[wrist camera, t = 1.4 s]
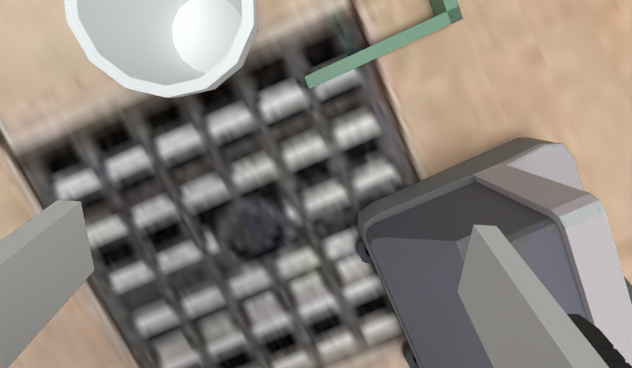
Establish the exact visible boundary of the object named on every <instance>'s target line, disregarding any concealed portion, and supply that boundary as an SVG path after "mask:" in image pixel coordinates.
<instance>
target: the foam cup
mask: <svg viewBox="0 0 632 368" xmlns="http://www.w3.org/2000/svg"><path fill="white" fill-rule="evenodd" d="M64 4H65V12H66V20H67V23H68V24H69V26H70V28H71V30H72V31H73V33H74V35H75V36H76V38H77V40H78V42H79V43H80V45H81V47H82V48H83V50H84V52H85V54H86V55H87V57H88V59H89V60H90V62H92V63H93V64H94V65H96V66H97V67H98V68H100V69H101V70H102V71H104V72H105V73H106V74H108V75H109V76H110V77H112V78H113V79H114V80H116V81H117V82H118V83H120V84H121V85H122V86H123V87H125V88H127V89H132V90H136V91H140V92H145V93H149V94H153V95H157V96H162V97H166V98H172V97H183V96H187V95H192V94H196V93H200V92H205V91H209V90H214V89H216V88H217V87H218V86H219V85H220V84H222V83H223V82H224V81H225V80H226V79H228V78H229V77H230V76H231V75H232V74H234V73H235V72H236V71H237V70H238V69H240V68H241V67H242V66H243V64H244V62H245V59H246V57H247V55H248V53H249V50H250V48H251V46H252V44H253V41H254V39H255V37H256V34H257V32H258V16H257V0H64Z"/></svg>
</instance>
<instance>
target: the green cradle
mask: <svg viewBox="0 0 632 368" xmlns="http://www.w3.org/2000/svg"><path fill="white" fill-rule="evenodd" d="M430 3H431V5H432V8H433V11H434V14H435V17H433V18H431V19H429V20H427V21H425V22H423V23H420V24H418V25H416V26H414V27H412V28H409V29H407V30H405V31H403V32H401V33H399V34H396V35H394V36H392V37H390V38H388V39H385V40H383V41H381V42H379V43H377V44H375V45H372V46H370V47H368V48H366V49H364V50H361V51H359V52H357V53H355V54H353V55H351V56H348V57H346V58H344V59H342V60H340V61H337V62H335V63H333V64H331V65H329V66H327V67H324V68H322V69H320V70H318V71H316V72H314V73H311V74H309V75H307V76H305V77H304V80H305V82H306V85H307V87H308V89H310V88H312V87H315V86H317V85H319V84H321V83H323V82H325V81H328V80H330V79H332V78H334V77H336V76H339V75H341V74H343V73H345V72H347V71H350V70H352V69H354V68H356V67H358V66H360V65H363V64H365V63H367V62H369V61H371V60H374V59H376V58H378V57H380V56H382V55H385V54H387V53H389V52H391V51H393V50H395V49H398V48H400V47H402V46H404V45H406V44H409V43H411V42H413V41H415V40H417V39H420V38H422V37H424V36H426V35H428V34H430V33H433V32H435V31H437V30H439V29H441V28H444V27H446V26H448V25H450V24H452V23H455V22H457V21H459V20H461V19H463V17H462V14H461V11H460V8H459V5H458V2H457V0H430Z"/></svg>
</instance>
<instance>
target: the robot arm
mask: <svg viewBox="0 0 632 368" xmlns="http://www.w3.org/2000/svg"><path fill="white" fill-rule="evenodd" d="M93 271H94V266H93V261H92V256H91V251H90V246H89V241H88V236H87V231H86V225H85V220H84V215H83V210H82V205H81V201H64V200H57V201H56V202H54V203H53V204H52V205H50V206H49V207H47V208H46V209H45V210H43V211H42V212H40V213H39V214H38V215H36V216H35V217H33V218H32V219H31V220H29V221H28V222H26V223H25V224H23V225H22V226H21V227H19V228H18V229H16V230H15V231H14V232H12V233H11V234H9V235H8V236H7V237H5V238H4V239H2V240H1V241H0V368H8V367H9V366H10V365H11V364H12V362H13V361H14V360H15V359H16V358H17V357H18V356H19V355H20V353H21V352H22V351H23V350H24V349H25V348H26V347H27V346H28V344H29V343H30V342H31V341H32V340H33V339H34V338H35V337H36V335H37V334H38V333H39V332H40V331H41V330H42V329H43V328H44V326H45V325H46V324H47V323H48V322H49V321H50V320H51V318H52V317H53V316H54V315H55V314H56V313H57V312H58V311H59V309H60V308H61V307H62V306H63V305H64V304H65V303H66V302H67V300H68V299H69V298H70V297H71V296H72V295H73V294H74V293H75V291H76V290H77V289H78V288H79V287H80V286H81V285H82V284H83V282H84V281H85V280H86V279H87V278H88V277H89V276H90V275H91V273H92V272H93ZM457 292H458V294H459V296H460V298H461V300H462V302H463V304H464V306H465V308H466V311H467V313H468V315H469V317H470V319H471V321H472V323H473V325H474V328H475V330H476V332H477V334H478V336H479V338H480V340H481V342H482V344H483V347H484V349H485V351H486V353H487V355H488V357H489V359H490V361H491V364H492V366H493V368H632V366H631V365H630V364H629V363H626V361H625V360H626V359H625V358H624V357H623V356H622V355H621V353H620V352H619V351H618V350H617V349H614V347H613V346H614V345H613V344H612V343H611V342H610V341H609V340H608V338H607V337H606V336H605V335H604V334H603V333H602V331H601V330H600V329H599V328H597V327H596V326H595V325H593V324H592V323H591V322H589V321H588V320H586V319H585V318H584V317H582V316H581V315H580V314H566V313H565V311H564V310H563V309H562V308H561V306H560V305H559V304H558V303H557V301H556V300H555V299H554V298H553V296H552V295H551V294H550V293H549V291H548V290H547V289H546V288H545V286H544V285H543V284H542V283H541V281H540V280H539V279H538V278H537V276H536V275H535V274H534V273H533V271H532V270H531V269H530V268H529V266H528V265H527V264H526V263H525V261H524V260H523V259H522V257H521V256H520V255H519V254H518V252H517V251H516V250H515V249H514V247H513V246H512V245H511V244H510V242H509V241H508V240H507V239H506V237H505V236H504V235H503V234H502V232H501V231H500V230H499V229H498V227H497V226H488V225H473V229H472V233H471V237H470V241H469V246H468V250H467V254H466V258H465V262H464V266H463V271H462V275H461V279H460V283H459V287H458V291H457Z"/></svg>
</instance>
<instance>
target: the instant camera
mask: <svg viewBox="0 0 632 368" xmlns="http://www.w3.org/2000/svg"><path fill="white" fill-rule="evenodd" d="M473 225H488V226H497V227H498V229H499V230H500V231H501V232H502V234H503V235H504V236H505V237H506V239H507V240H508V241H509V242H510V244H511V245H512V246H513V247H514V249H515V250H516V251H517V252H518V254H519V255H520V256H521V257H522V259H523V260H524V261H525V263H526V264H527V265H528V266H529V268H530V269H531V270H532V271H533V273H534V274H535V275H536V276H537V278H538V279H539V280H540V281H541V283H542V284H543V285H544V286H545V288H546V289H547V290H548V291H549V293H550V294H551V295H552V296H553V298H554V299H555V300H556V301H557V303H558V304H559V305H560V306H561V308H562V309H563V310H564V311H565V313H566V314H580V315H581V316H582V317H584V318H585V319H586V320H588V321H589V322H591V323H592V324H593V325H595V326H596V327H597V328H599V329H600V330H601V331H602V333H603V334H604V335H605V336H606V337H607V338H608V340H609V341H610V342H611V343H612V344H613V345H614V346H613V347H614V349H617V350H618V351H619V352H620V353H621V355H622V356H623V357H624V358H625V359H626V360H625V361H626V363H629V364H630V365H631V366H632V285H631V284H630V283H629V282H628V281H627V279H626V278H625V277H624V275H623V271H622V268H621V264H620V261H619V257H618V253H617V250H616V246H615V243H614V239H613V235H612V232H611V228H610V225H609V221H608V217H607V214H606V210H605V209H604V207H603V205H602V203H601V202H600V200H599V199H598V198H596V197H595V196H594V195H592V194H591V193H588V192H585V191H584V190H583V187H582V183H581V180H580V176H579V173H578V169H577V166H576V162H575V159H574V156H573V155H572V154H571V153H570V152H569V151H568V149H567V148H566V147H565V146H564V145H563V144H560V143H553V142H548V141H543V140H538V139H532V138H517V139H515V140H513V141H510V142H508V143H506V144H504V145H501V146H499V147H497V148H495V149H492V150H490V151H488V152H485V153H483V154H481V155H479V156H476V157H474V158H472V159H469V160H467V161H465V162H463V163H460V164H458V165H456V166H454V167H451V168H449V169H447V170H444V171H442V172H440V173H438V174H435V175H433V176H431V177H428V178H426V179H424V180H422V181H419V182H417V183H415V184H412V185H410V186H408V187H406V188H403V189H401V190H399V191H397V192H394V193H392V194H390V195H387V196H385V197H383V198H381V199H378V200H376V201H374V202H372V203H370V204H369V205H367V206H366V207H365V208H363V209H362V210H360V211H359V212H358V230H359V232H360V234H361V237H360V238H359V239H358V240H357V243H356V248H357V250H358V253H359V255H360V257H361V259H362V261H363V262H365V263H373V264H374V266H375V268H376V270H377V273H378V275H379V277H380V279H381V282H382V284H383V286H384V289H385V291H386V293H387V295H388V298H389V300H390V302H391V304H392V307H393V309H394V311H395V314H396V316H397V318H398V320H399V323H400V325H401V327H402V329H403V332H404V334H405V336H406V338H407V341H408V343H409V344H407V345H406V346H405V348H404V355H405V358H406V360H407V362H408V364H409V367H410V368H493V366H492V364H491V361H490V359H489V357H488V355H487V353H486V351H485V349H484V347H483V344H482V342H481V340H480V338H479V336H478V334H477V332H476V330H475V328H474V325H473V323H472V321H471V319H470V317H469V315H468V313H467V311H466V308H465V306H464V304H463V302H462V300H461V298H460V296H459V294H458V292H457V291H458V287H459V283H460V279H461V275H462V271H463V266H464V262H465V258H466V254H467V250H468V246H469V241H470V237H471V233H472V229H473ZM365 248H367V250H368V252H366V251H365ZM413 356H414V357H413Z"/></svg>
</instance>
